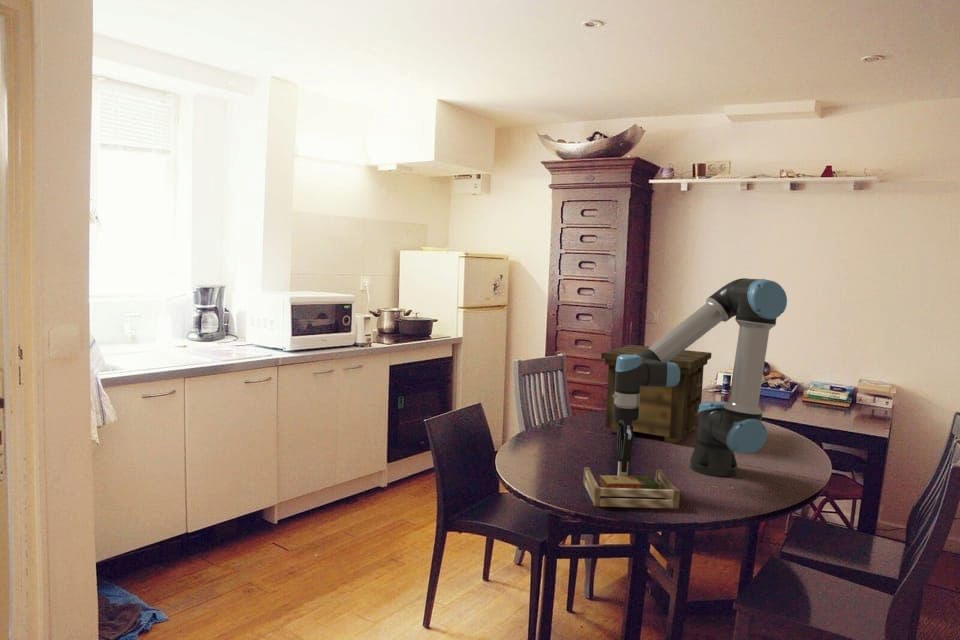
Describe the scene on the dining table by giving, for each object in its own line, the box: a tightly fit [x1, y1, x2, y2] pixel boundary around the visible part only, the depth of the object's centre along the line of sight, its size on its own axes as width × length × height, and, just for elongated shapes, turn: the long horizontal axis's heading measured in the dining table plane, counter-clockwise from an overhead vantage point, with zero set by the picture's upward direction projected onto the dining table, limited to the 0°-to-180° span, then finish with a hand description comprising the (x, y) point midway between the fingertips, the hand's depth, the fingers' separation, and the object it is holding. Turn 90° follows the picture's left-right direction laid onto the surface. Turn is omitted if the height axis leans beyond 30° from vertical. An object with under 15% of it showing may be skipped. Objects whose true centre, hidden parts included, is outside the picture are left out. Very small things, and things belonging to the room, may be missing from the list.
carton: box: [598, 474, 660, 498], centre depth 191 cm, size 8×16×4 cm, turn 96°
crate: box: [600, 344, 712, 445], centre depth 261 cm, size 35×35×33 cm
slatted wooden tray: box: [582, 466, 681, 510], centre depth 187 cm, size 24×18×5 cm
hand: (622, 481), depth 195 cm, fingers closed
